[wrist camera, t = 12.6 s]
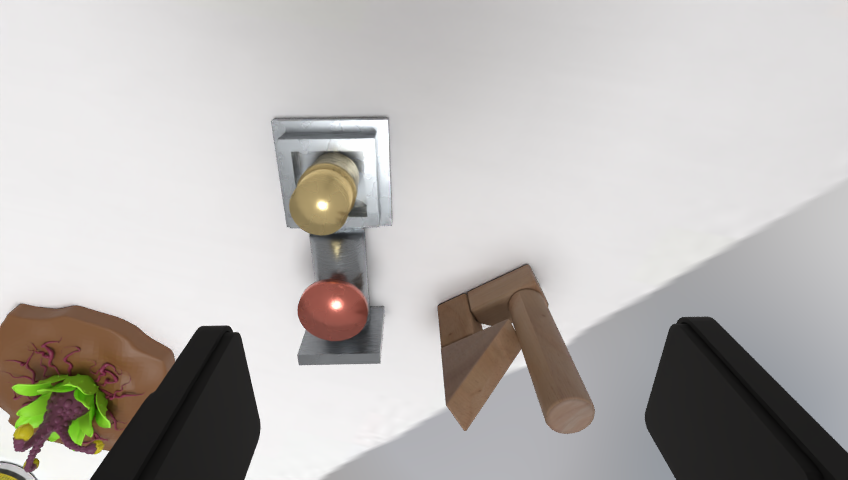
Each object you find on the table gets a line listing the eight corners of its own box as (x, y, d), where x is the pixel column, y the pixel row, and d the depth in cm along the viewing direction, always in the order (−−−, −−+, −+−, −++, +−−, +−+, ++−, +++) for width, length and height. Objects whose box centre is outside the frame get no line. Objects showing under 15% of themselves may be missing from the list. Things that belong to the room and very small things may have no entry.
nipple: (305, 150, 40) (282, 178, 33) (360, 150, 41) (348, 178, 33) (311, 201, 43) (290, 237, 35) (362, 201, 43) (352, 237, 35)
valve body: (274, 118, 40) (243, 141, 33) (388, 117, 40) (383, 140, 33) (303, 317, 49) (284, 369, 42) (395, 315, 50) (392, 367, 42)
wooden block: (435, 304, 49) (448, 445, 33) (527, 262, 47) (588, 390, 31) (451, 328, 51) (470, 475, 35) (541, 288, 49) (605, 423, 33)
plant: (193, 330, 50) (139, 409, 40) (175, 448, 58) (127, 538, 48) (-7, 283, 47) (-120, 356, 37) (4, 415, 55) (-87, 504, 45)
